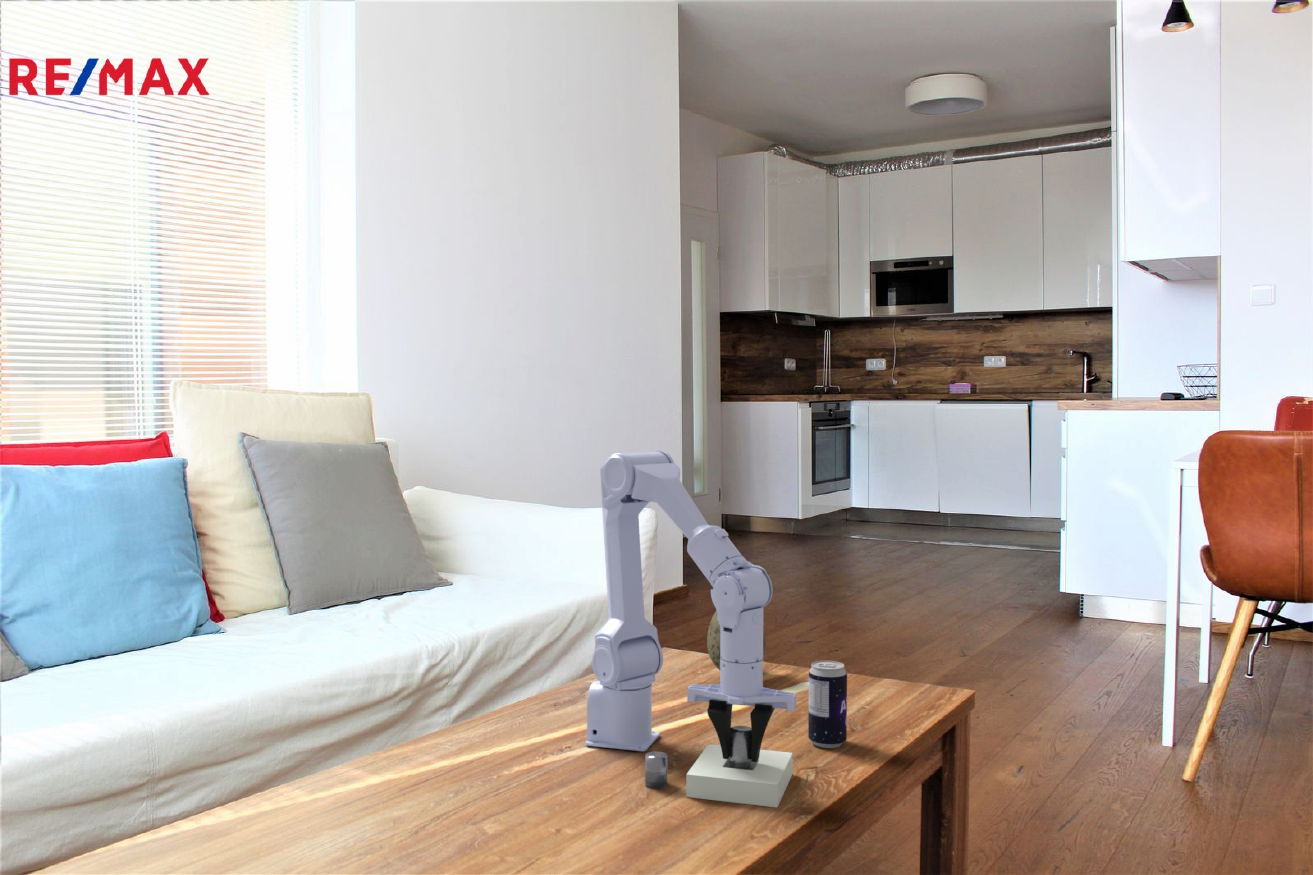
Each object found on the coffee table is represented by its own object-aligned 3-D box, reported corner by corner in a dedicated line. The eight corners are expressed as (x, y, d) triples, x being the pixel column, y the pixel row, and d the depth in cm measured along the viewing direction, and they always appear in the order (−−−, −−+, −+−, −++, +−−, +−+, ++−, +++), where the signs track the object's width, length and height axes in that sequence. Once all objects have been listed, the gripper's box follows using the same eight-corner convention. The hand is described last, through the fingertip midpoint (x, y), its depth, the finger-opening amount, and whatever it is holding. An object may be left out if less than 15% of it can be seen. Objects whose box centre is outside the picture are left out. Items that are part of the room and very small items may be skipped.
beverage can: (846, 751, 152) (846, 670, 151) (807, 748, 153) (807, 668, 153) (846, 738, 158) (847, 660, 157) (809, 736, 159) (809, 658, 158)
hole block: (686, 796, 135) (686, 774, 135) (708, 765, 146) (708, 744, 146) (777, 807, 131) (777, 784, 131) (792, 774, 143) (792, 752, 143)
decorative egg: (715, 666, 199) (715, 589, 198) (770, 671, 195) (771, 592, 195) (700, 681, 189) (700, 599, 188) (757, 686, 185) (758, 603, 184)
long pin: (727, 783, 138) (728, 732, 137) (732, 775, 141) (732, 724, 140) (750, 785, 137) (750, 733, 137) (753, 777, 140) (754, 726, 140)
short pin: (642, 787, 138) (642, 758, 138) (648, 779, 141) (648, 750, 141) (663, 790, 137) (663, 760, 137) (670, 781, 140) (670, 752, 140)
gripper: (681, 661, 136) (681, 762, 137) (790, 670, 132) (789, 774, 133) (694, 648, 143) (694, 745, 144) (799, 656, 139) (798, 755, 139)
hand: (741, 758), depth 139 cm, fingers open, 3 cm apart
